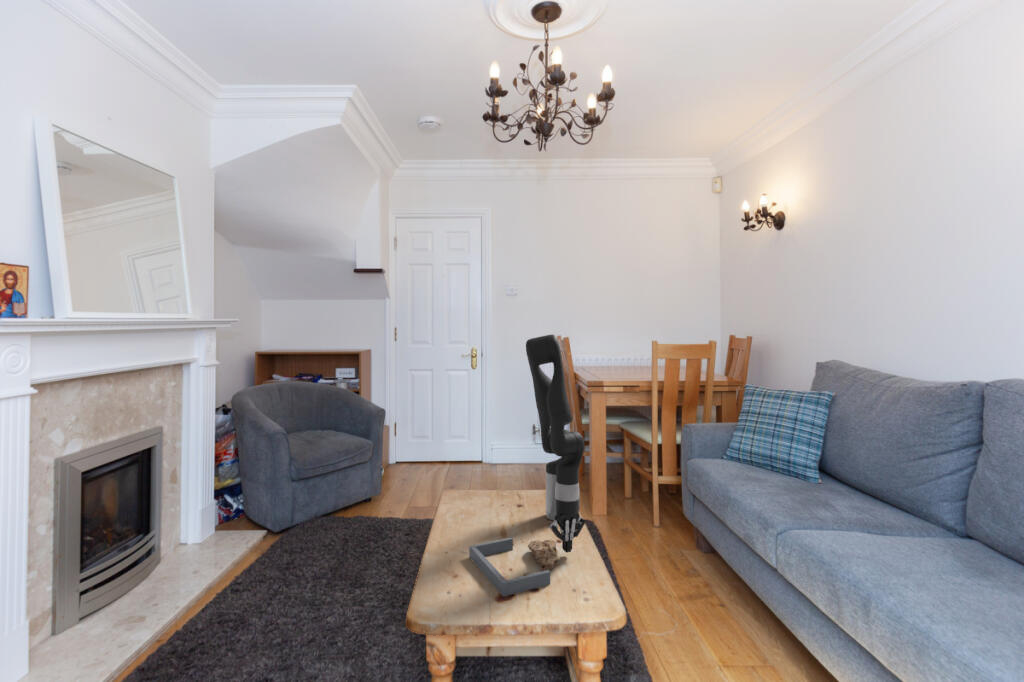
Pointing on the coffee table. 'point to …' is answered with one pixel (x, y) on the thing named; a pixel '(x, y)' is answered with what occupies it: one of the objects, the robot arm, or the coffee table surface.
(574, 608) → the coffee table surface
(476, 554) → the bracket
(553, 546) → the rock
